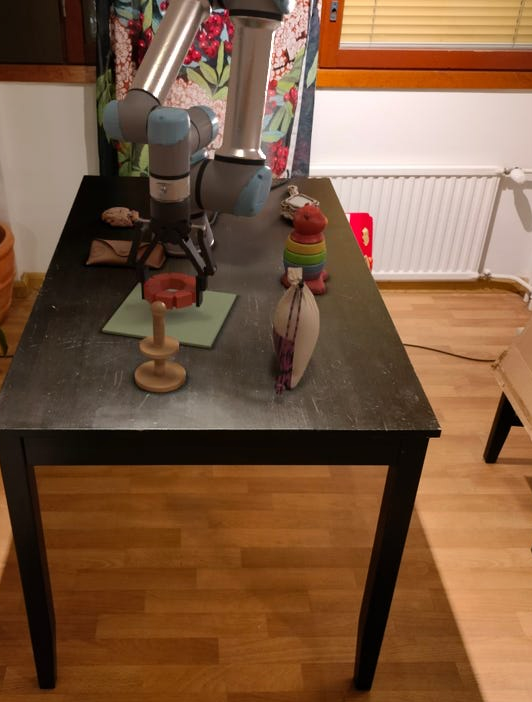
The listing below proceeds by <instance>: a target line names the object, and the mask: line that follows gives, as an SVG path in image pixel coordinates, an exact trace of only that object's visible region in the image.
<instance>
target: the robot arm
mask: <svg viewBox="0 0 532 702" xmlns="http://www.w3.org/2000/svg"><path fill="white" fill-rule="evenodd" d="M167 1H168V6H167V8H166V9H165V13H164V14H163V16H162V18H161V21H160V23H159V24H158V27H157V30H156V31H155V33H154V35H153V37H152V39H151V42H150V44H149V45H148V48H147V51H146V53H145V54H144V57H143V59H142V60H141V62H140V65H139V66H138V69H137V71H136V73H135V75H134V78H133V79H132V81H131V84H130V85H129V88H128V90H127V92H126V94H125V96H124V98H123V99H113V100H111V101H109V102H107V103H106V105H105V107H104V109H103V113H102V127H103V130H104V132H105V134H106V135H107V136H108V137H109V138H110V139H112V140H116V141H120V142H124V143H134V144H139V145H147V149H148V150H147V151H148V167H149V169H148V171H149V172H148V175H149V195H150V196H151V197H150V198H149V200H150V201H149V205H150V206H149V207H150V209H149V210H150V219H145V217H143V216H141V217H140V216H139V219H138V220H137V221H136V222H135V225H134V230H135V233H134V236H133V239H132V245H131V249H130V252H129V255H128V258H127V262H126V263H127V265H129V266H131V265H132V266H134V267H135V268H134V269H135V272H136V273H135V275H136V282H137V284H138V283H141V293H142V300H145V297H144V284H145V283H146V282H147V280H148V279H149V278H150V268H149V267H148V265H145V266H144V264H145V262H146V261H147V259H148V258H149V256H150V255H151V253H152V252H153V250H154V249H155V247H156V246H157V244H158V243H162V244H164V245H165V249H166V256H168V257H173V258H187V259H188V260H189V261H190V263H191V265H192V267H193V268H194V269H195V271H196V273H197V275H196V276H195V279H196V307H200V305H201V304H202V302H203V291H204V292H205V291H207V289H208V287H209V282H208V281H209V277H213V276H215V274H216V272H217V270H218V266H217V263H216V260H215V257H214V253H213V251H212V249H213V247H214V234H213V231H212V229H211V226H212V225H213V224H214V222H215V221H216V218H217V216H218V214H219V213H220V214H226V215H231V216H235V217H245V218H253V217H256V216H257V215H258V214H259V213H260V212H261V211H262V210H263V208H264V207H265V205H266V203H267V201H268V197H269V195H270V192H271V190H272V189H275V188H277V187H278V186H279V187H280V186H281V185H283V184H285V183H287V182H288V181H289V179H290V176H291V175H290V173H291V172H290V170H289V168H287V169H286V178H284V180H282V181H280V182H277V183H275V184H274V185H273V184H272V182H273V176H272V175H273V170H272V169H271V167H269V166H267V165H266V158H267V157H266V155H265V154H264V153H263V151H262V150H261V145H262V136H263V130H264V129H263V127H264V121H265V112H266V104H267V97H268V96H267V95H268V88H269V79H270V73H271V63H272V57H273V56H272V55H273V48H274V40H275V33H276V32H277V30H278V29H280V27H282V26H283V24H284V17H285V16H288V15H290V14H291V13H292V12H293V11H294V9H295V4H296V1H297V0H167ZM218 10H223V11H224V10H225V11H228V15H227V16H228V17H227V19H228V21H230V24H231V25H232V26H233V37H232V45H231V54H230V55H231V56H230V66H229V76H228V85H227V94H226V104H225V113H224V121H223V122H224V123H223V133H222V142H221V145H220V146H219V148H217V149H215V150H214V152H213V153H214V154H213V158H209V157H208V155H209V154H208V151H207V150H206V149H205V148H207V147H208V146H210V144H211V143H213V142H214V140H216V138H217V136H218V134H219V131H220V121H219V118H218V116H217V114H216V113H215V111H214V110H213V109H212V108H211V107H209V106H207V105H202V104H199V105H192V106H190V107H189V108H181V107H176V106H175V107H174V106H165V103H166V101H167V99H168V96H169V95H170V93H171V90H172V89H173V86H174V84H175V82H176V79H177V77H178V75H179V73H180V70H181V68H182V66H183V64H184V62H185V60H186V57H187V56H188V53H189V51H190V49H191V48H192V47H191V46H192V44H193V42H194V40H195V38H196V36H197V33H198V31H199V29H200V27H201V25H202V24H203V23H205V22H207V21H208V20H209V19H210V17H211V15H212V13H213V12H214V11H218ZM207 211H208V212H214V213H213V216H212V218H211V220H210V221H209V219H208V216H207ZM148 228H149V230H151V232H152V234H151V240H150V242H149V243H150V244H149V246H148V247H147V249H146V250H145V252H144V253H143V255H142V256H141V258H140V259H138V258H137V255H138V251H139V248H140V245H141V242H143V238H144V236H145V233H146V231H147V230H148ZM201 256H202V257H201Z"/></svg>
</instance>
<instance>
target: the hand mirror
mask: <svg viewBox="0 0 532 702" xmlns="http://www.w3.org/2000/svg"><path fill="white" fill-rule="evenodd" d="M298 189H299V187H298V186H297V185H294V184H290V185H288V186H287V187H286V191H287V192H288V193H289V195H290V196H289V197H287V198H286V199H284V200H282V201H281V202H280V208H279V210H278V211H279V214H280V215H281V216H282V217H284V218H285V219H287V220H291V221H293V216H294V213H295V212H296V211H297V209H299V208H300V207H302V206H304V205H305V204H306V203H307V202H309V205H312V206H316V207H318V208H319V209H320V202H319V201H318V200H316V199H315V198H313V197H310V196H307V195H306V194H305V193H304V194H303V193H299V191H298Z"/></svg>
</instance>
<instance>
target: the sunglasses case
mask: <svg viewBox="0 0 532 702" xmlns="http://www.w3.org/2000/svg"><path fill="white" fill-rule="evenodd" d="M132 242H133V240H132V241H130V240H109V239H102V238H93V239H92V240H91V247H90V252H89V255H88V256H89V257H88V259H87V261H86V262H85V265H87V266H108V267H121V268H131V269H132V268H133V269H136V268H135V267H134V266H132V265H131V266H129V265H127V263H126V262H127V258H128V255H129V252H130V249H131V245H132ZM149 244H150V242H144V241H142V242H141V245H140V248H139V251H138V255H137V258H138V259H140V258H141V256H142V255H143V253H144V252H145V250H146V249H147V247H148V246H149ZM166 256H167V255H166V249H165V245H164V244H162V243H158V244H157V246H156V247H155V249H154V250H153V252H152V253H151V255H150V256H149V258H148V259H147V261H146V262H145V264H144V266H145V265H148V267H149V269H160V268H161V267H162V266H163V264H164V263H165V261H166Z"/></svg>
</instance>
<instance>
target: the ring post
mask: <svg viewBox="0 0 532 702" xmlns="http://www.w3.org/2000/svg"><path fill="white" fill-rule="evenodd" d="M150 310H151V313H152V316H153V335H152V336H149V337H146V338H145V339H144V338H142V340H141V341H140V342H139V352H140V353H141V354H142V355H143V356H144V357H146V358H150V359H153V360H149V361H147V362H144V363H142V364H140V365H139V366H138V367H137V368H136V370H135V371H134V382H135V384H136V385H137V386H138V387H139V388H140V389H142V390H145V391H147V392H151V393H167V392H171V391H174V390H177V389H179V388H180V387H182V386H183V385H184V383H185V382H186V379H187V378H186V376H187V375H186V370H185V368H184V366H182V364H179V363H178V362H175V361H173V360H169V358H171V357H173V356H175V355H176V354H177V353H178V352H179V349H180V344H179V343H178V341H177V340H176V339H175V338H173V337H171V336H168V335H165V321H164V314H165V312H166V306H165V304H164V303H162V302H160V301H156V302H154V303H153V304H152V305H151V309H150Z"/></svg>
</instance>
